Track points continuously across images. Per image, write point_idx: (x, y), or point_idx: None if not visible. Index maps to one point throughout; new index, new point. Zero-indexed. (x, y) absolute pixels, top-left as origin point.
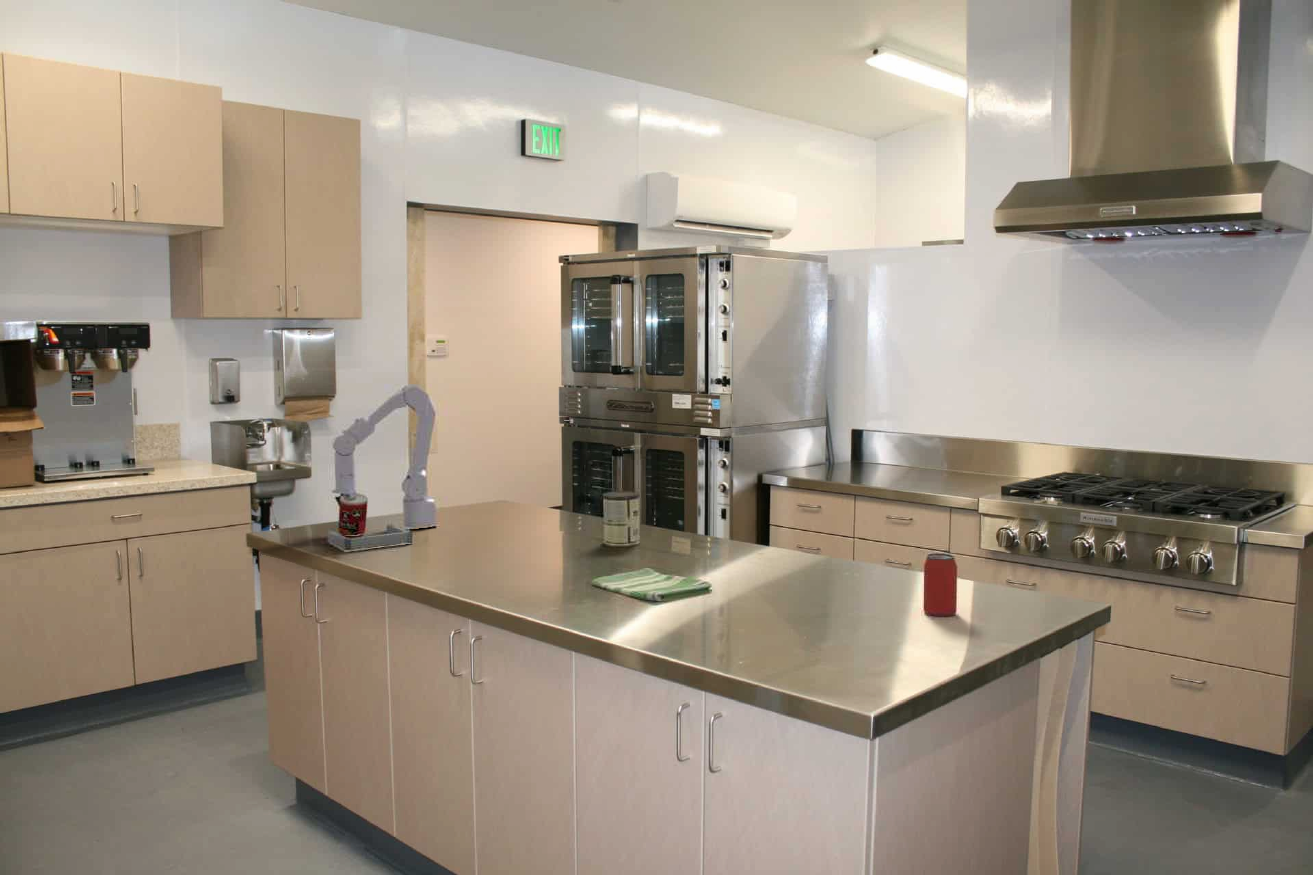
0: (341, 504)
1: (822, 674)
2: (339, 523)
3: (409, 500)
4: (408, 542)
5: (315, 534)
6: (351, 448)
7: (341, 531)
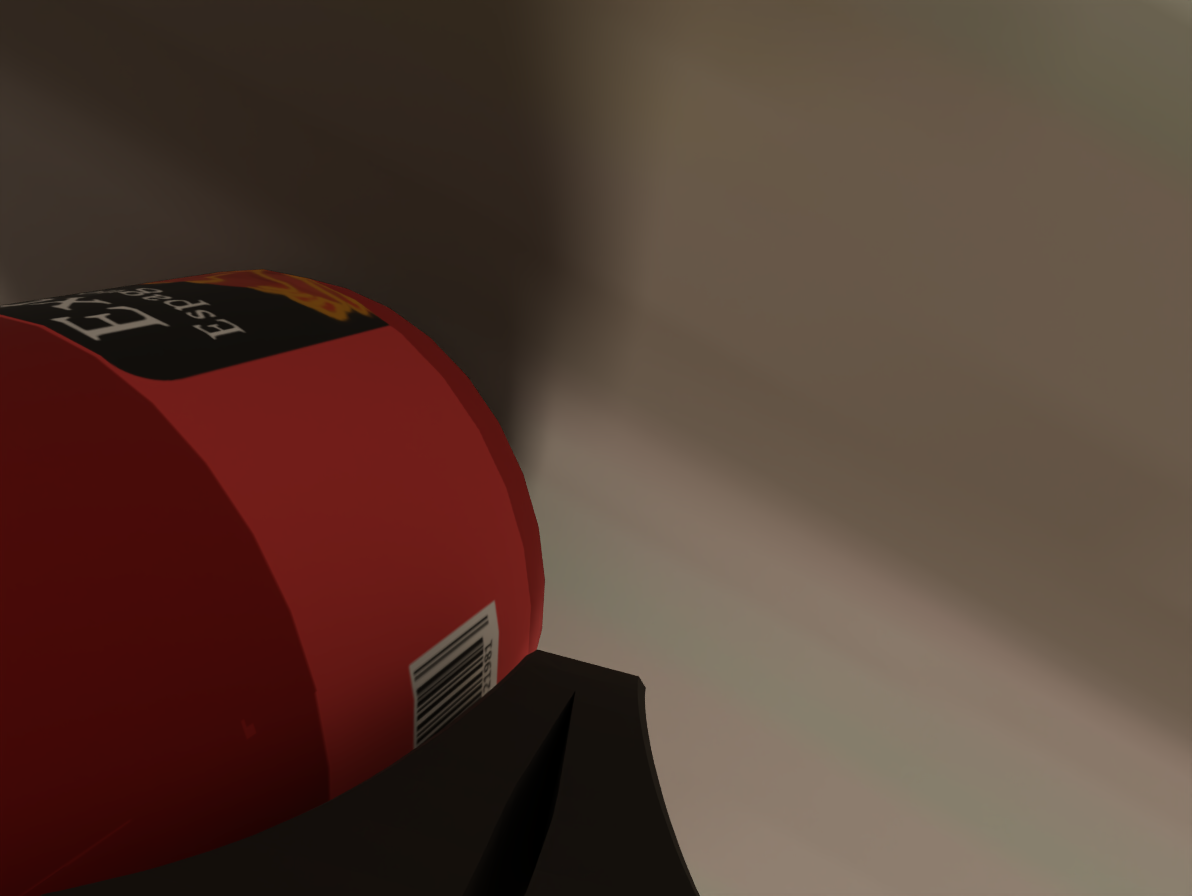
0: None
1: None
2: (148, 303)
3: None
4: None
5: (1102, 65)
6: None
7: (197, 276)
